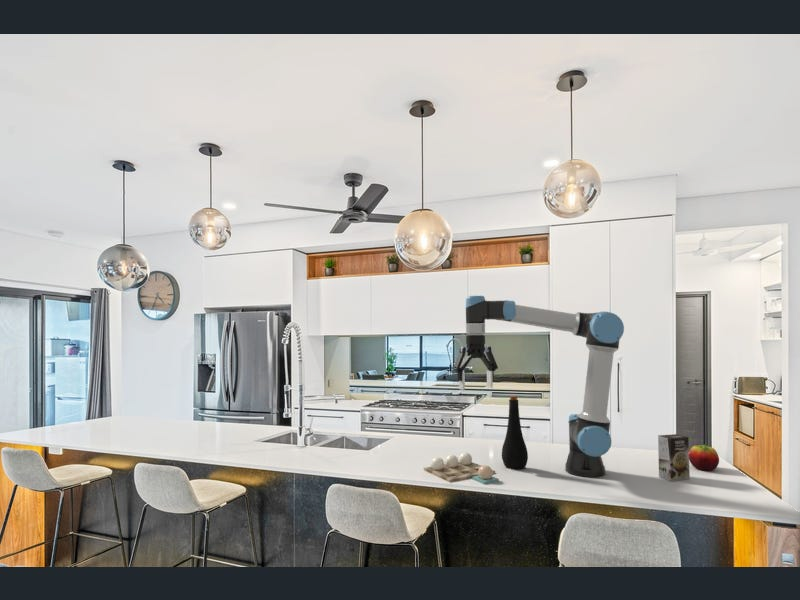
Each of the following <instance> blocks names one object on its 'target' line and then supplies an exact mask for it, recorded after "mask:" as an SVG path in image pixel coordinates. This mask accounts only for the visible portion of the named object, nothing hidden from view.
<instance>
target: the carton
mask: <svg viewBox="0 0 800 600" xmlns="http://www.w3.org/2000/svg"><path fill="white" fill-rule="evenodd" d="M481 466H482V465H481V464H478V463H475V462H473V461H472V463H471V464H470V465H466V466H464V465H461V464H460V462H459V461H458V466H457V467H455V468H449V467H447V466H446V464H445V463H444V468H443V469H442V470H438V471H435V470H433V469H432V467H431V466H427V467H423V471H425V472H427V473H429V474H431V475H433V476H436V477H437V478H440V479H442V480H443V481H446V482H448V483H452V482H458V481H463V480H468V479H472V477H474V476H479V475H478V470H479V468H480V467H481ZM492 471H493V475H495V474H496V471H495V470H494V469H492Z"/></svg>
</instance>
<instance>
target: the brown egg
mask: <svg viewBox="0 0 800 600" xmlns="http://www.w3.org/2000/svg"><path fill="white" fill-rule="evenodd" d="M492 470H493V468H492V467H490V465H487V464H484V465H481V467H480V468H479V470H478V475H479V477H480V478H481V479H483V480H488V479H491V477H492V476H493V475H494V474H493V471H492Z"/></svg>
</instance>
